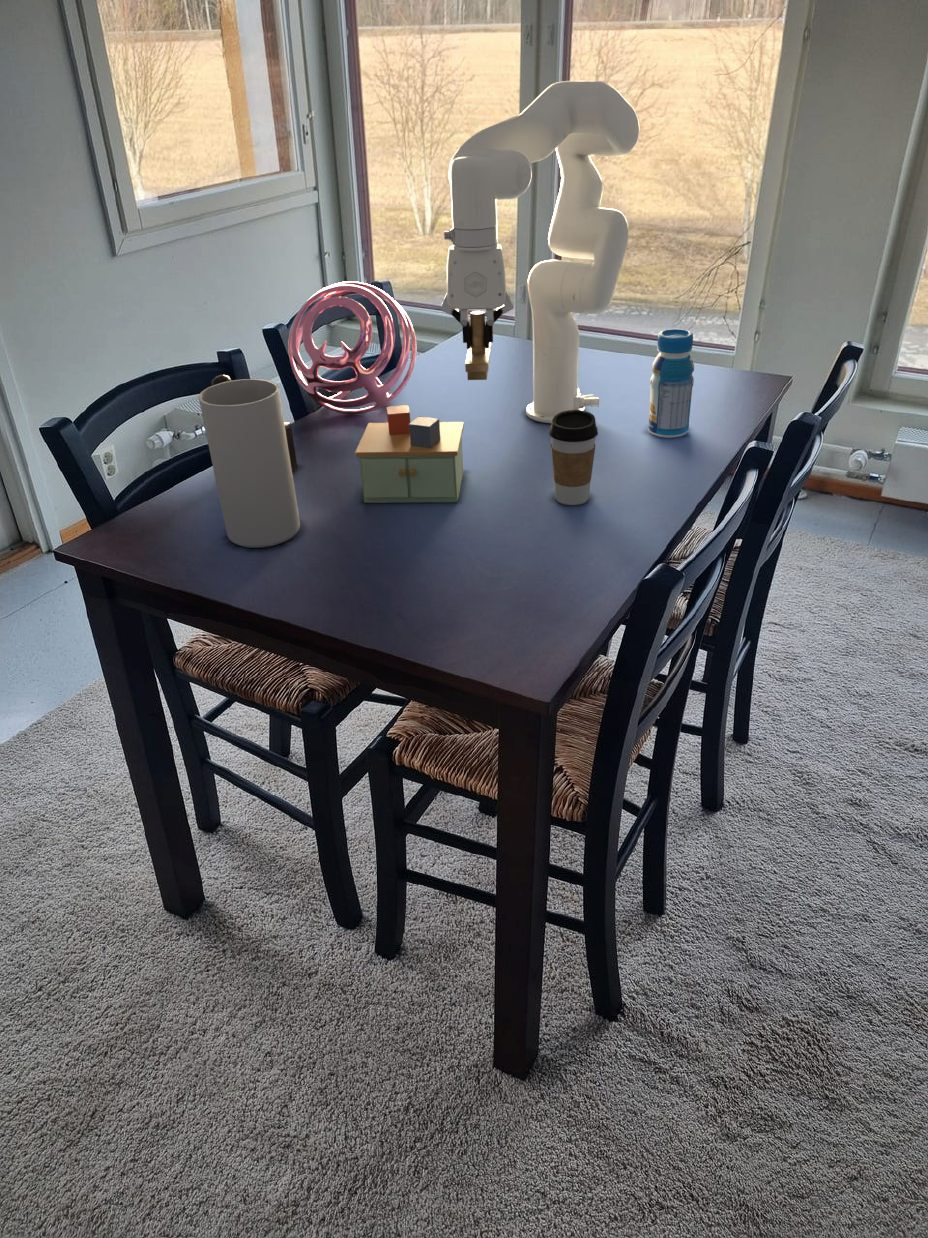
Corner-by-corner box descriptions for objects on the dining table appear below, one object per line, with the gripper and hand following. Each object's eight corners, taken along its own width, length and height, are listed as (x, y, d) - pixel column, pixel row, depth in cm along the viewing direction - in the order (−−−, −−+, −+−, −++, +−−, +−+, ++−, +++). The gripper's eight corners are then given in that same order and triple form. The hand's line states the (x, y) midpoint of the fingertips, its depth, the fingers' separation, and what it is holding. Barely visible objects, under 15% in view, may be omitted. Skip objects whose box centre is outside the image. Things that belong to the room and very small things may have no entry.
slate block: (440, 439, 166) (439, 418, 164) (430, 448, 163) (429, 426, 161) (420, 437, 168) (419, 416, 166) (410, 445, 165) (408, 423, 163)
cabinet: (466, 471, 179) (463, 421, 173) (459, 505, 166) (456, 453, 161) (373, 471, 181) (368, 422, 175) (360, 505, 168) (354, 454, 163)
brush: (491, 357, 175) (490, 302, 170) (488, 379, 164) (487, 322, 159) (470, 357, 175) (468, 303, 170) (465, 380, 164) (463, 322, 159)
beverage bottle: (671, 442, 186) (679, 342, 175) (638, 431, 191) (644, 333, 181) (697, 430, 190) (707, 332, 180) (664, 420, 196) (671, 324, 185)
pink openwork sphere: (335, 292, 220) (296, 245, 194) (445, 327, 216) (419, 283, 189) (296, 405, 222) (251, 373, 195) (404, 442, 217) (373, 414, 190)
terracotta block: (409, 425, 173) (408, 404, 171) (411, 433, 170) (409, 412, 167) (388, 427, 173) (386, 406, 170) (389, 435, 169) (387, 414, 167)
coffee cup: (600, 490, 169) (603, 411, 161) (589, 510, 162) (592, 429, 154) (555, 485, 172) (555, 407, 163) (543, 505, 165) (543, 424, 157)
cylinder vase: (267, 556, 154) (240, 410, 140) (212, 539, 160) (181, 398, 146) (315, 525, 163) (294, 385, 149) (262, 510, 168) (237, 374, 155)
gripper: (425, 243, 155) (431, 353, 165) (522, 240, 154) (523, 351, 164) (429, 234, 161) (435, 341, 171) (523, 232, 160) (523, 339, 170)
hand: (478, 345), depth 167 cm, fingers closed on brush, 2 cm apart
